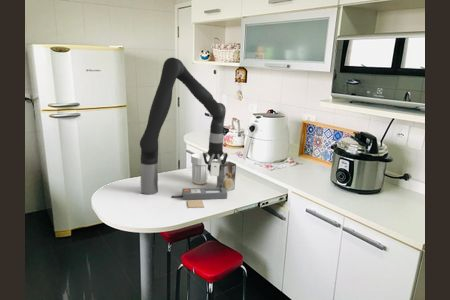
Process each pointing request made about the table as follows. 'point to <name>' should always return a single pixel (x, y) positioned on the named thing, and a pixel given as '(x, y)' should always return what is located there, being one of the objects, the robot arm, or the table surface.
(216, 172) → the charger
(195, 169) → the cup
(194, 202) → the cork mat
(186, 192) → the power strip
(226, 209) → the table surface
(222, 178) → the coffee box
